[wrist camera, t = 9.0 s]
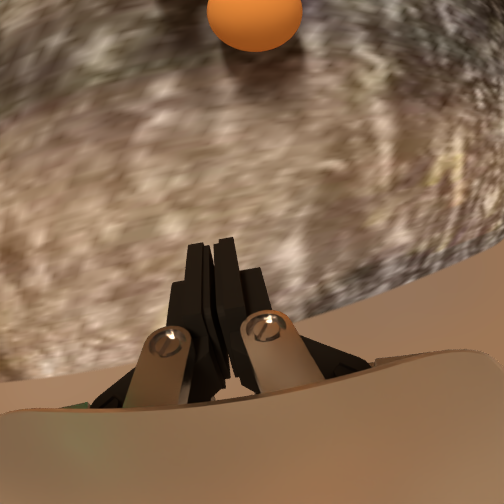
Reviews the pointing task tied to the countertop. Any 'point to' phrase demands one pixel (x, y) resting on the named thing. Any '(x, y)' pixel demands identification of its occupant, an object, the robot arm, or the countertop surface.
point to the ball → (254, 22)
